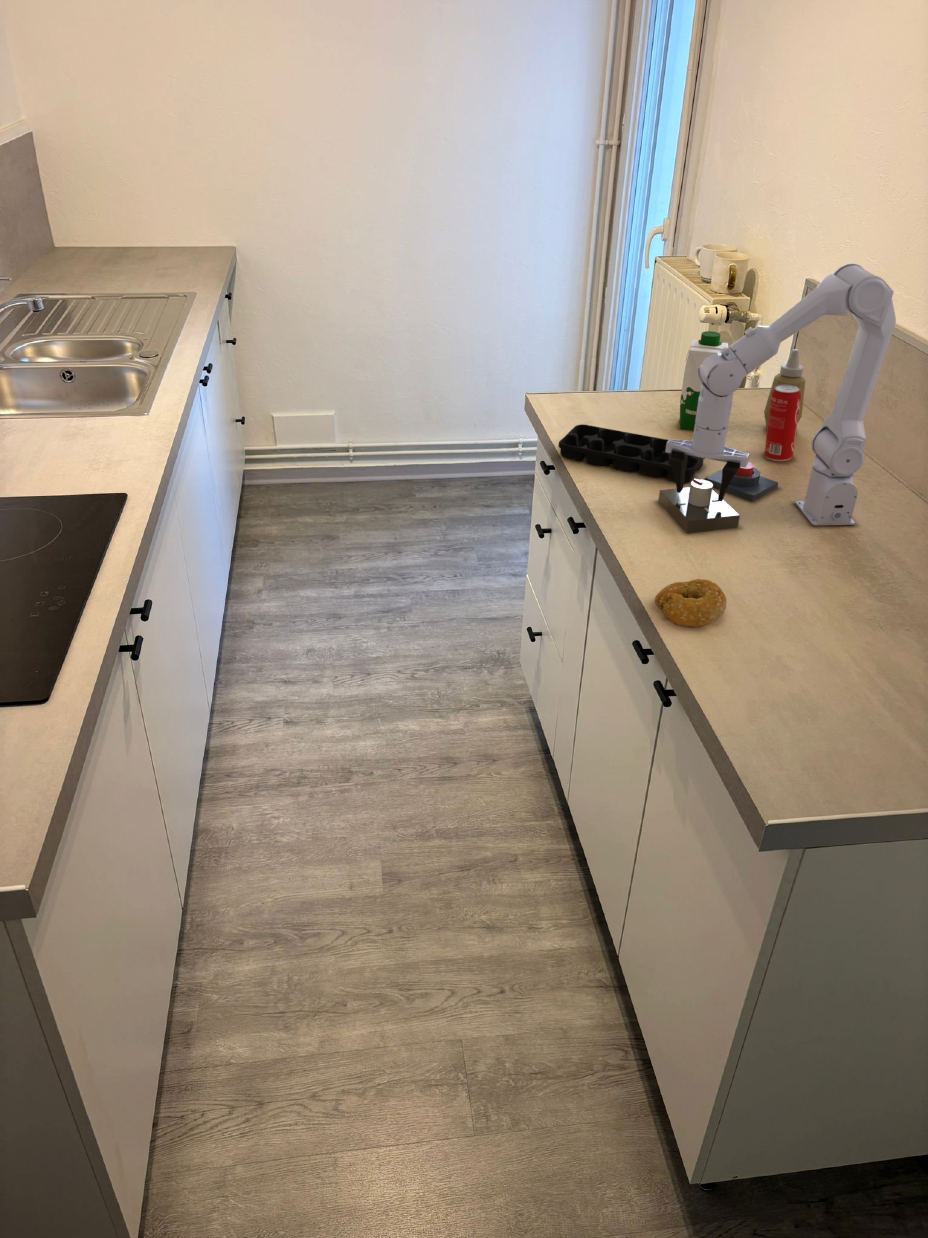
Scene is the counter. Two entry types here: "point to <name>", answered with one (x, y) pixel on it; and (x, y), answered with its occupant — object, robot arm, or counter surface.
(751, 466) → the power button
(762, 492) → the switch block
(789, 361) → the squeeze bottle
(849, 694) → the counter surface
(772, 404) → the beverage can
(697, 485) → the hob knob
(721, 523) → the panel
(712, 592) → the bagel
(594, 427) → the egg carton
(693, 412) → the milk carton
